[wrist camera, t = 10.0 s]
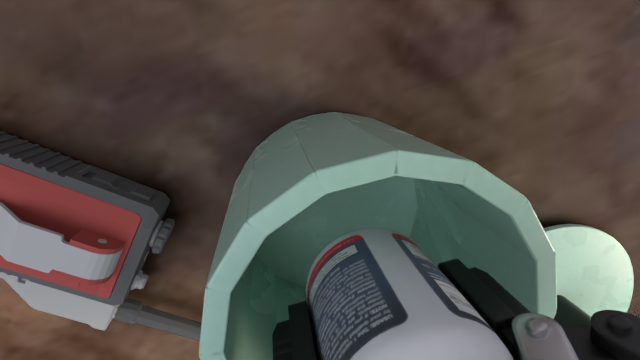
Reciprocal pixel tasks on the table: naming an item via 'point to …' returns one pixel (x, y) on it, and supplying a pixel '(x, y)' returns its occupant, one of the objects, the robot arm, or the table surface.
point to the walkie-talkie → (80, 238)
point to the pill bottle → (391, 304)
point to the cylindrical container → (358, 223)
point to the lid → (589, 273)
